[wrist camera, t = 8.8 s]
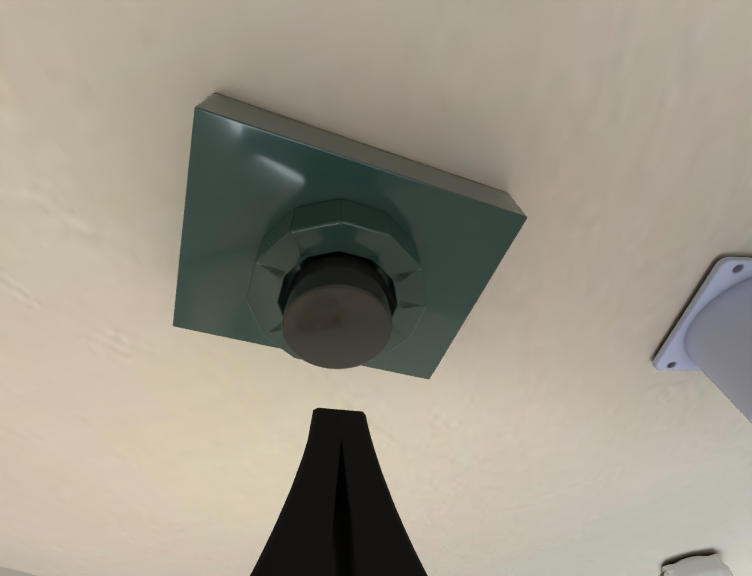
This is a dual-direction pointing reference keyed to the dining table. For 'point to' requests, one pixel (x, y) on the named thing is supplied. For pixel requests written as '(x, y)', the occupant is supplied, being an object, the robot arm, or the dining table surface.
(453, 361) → the dining table surface
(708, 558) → the chubby white toad
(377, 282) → the dark grey push button
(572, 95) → the dining table surface
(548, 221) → the dining table surface
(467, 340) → the dining table surface
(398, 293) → the green push button box
